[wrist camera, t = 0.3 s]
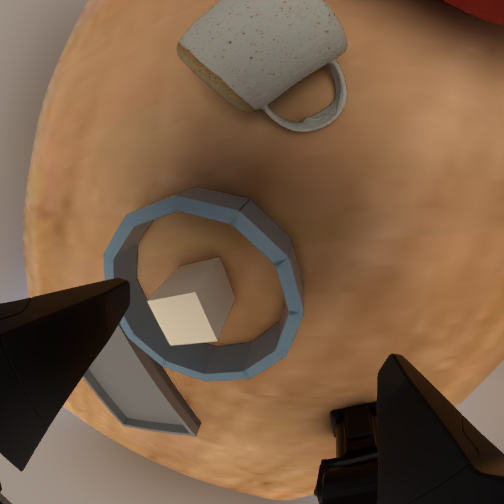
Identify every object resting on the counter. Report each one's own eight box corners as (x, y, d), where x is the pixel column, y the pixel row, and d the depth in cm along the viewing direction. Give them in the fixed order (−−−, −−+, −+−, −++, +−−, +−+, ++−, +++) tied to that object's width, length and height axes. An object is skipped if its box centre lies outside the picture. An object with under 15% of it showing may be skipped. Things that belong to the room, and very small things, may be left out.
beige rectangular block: (235, 297, 24) (217, 340, 18) (195, 305, 25) (170, 345, 19) (219, 256, 23) (195, 292, 17) (178, 266, 24) (147, 301, 18)
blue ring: (316, 339, 24) (318, 369, 20) (170, 357, 28) (156, 381, 24) (269, 163, 19) (262, 167, 16) (105, 222, 23) (78, 235, 20)
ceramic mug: (193, 64, 17) (145, 33, 10) (270, 2, 14) (257, -52, 7) (287, 157, 19) (284, 164, 12) (368, 92, 16) (407, 67, 9)
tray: (201, 422, 32) (196, 436, 30) (129, 415, 36) (123, 425, 34) (127, 307, 26) (115, 320, 24) (60, 317, 30) (49, 326, 28)
